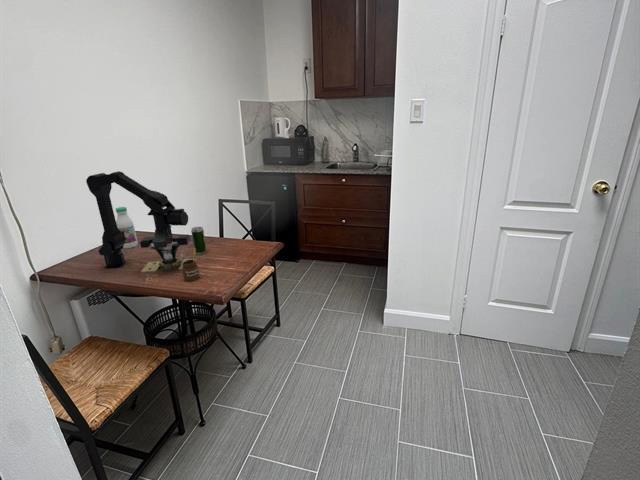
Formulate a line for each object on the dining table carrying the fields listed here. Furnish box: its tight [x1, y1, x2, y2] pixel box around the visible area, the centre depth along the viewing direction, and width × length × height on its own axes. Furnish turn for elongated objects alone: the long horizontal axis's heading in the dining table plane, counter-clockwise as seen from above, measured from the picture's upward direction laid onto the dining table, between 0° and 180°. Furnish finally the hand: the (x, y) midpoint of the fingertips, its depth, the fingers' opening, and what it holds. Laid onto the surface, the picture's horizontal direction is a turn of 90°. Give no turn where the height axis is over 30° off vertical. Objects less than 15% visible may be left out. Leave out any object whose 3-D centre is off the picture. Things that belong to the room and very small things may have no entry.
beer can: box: [191, 226, 207, 255], centre depth 160 cm, size 5×5×12 cm
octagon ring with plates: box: [140, 256, 199, 274], centre depth 148 cm, size 21×10×2 cm, turn 97°
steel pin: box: [161, 246, 175, 264], centre depth 146 cm, size 5×5×6 cm
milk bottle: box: [115, 206, 139, 249], centre depth 170 cm, size 8×8×20 cm
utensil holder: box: [179, 248, 200, 282], centre depth 134 cm, size 6×6×12 cm
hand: (169, 259), depth 147 cm, fingers closed on steel pin, 4 cm apart
